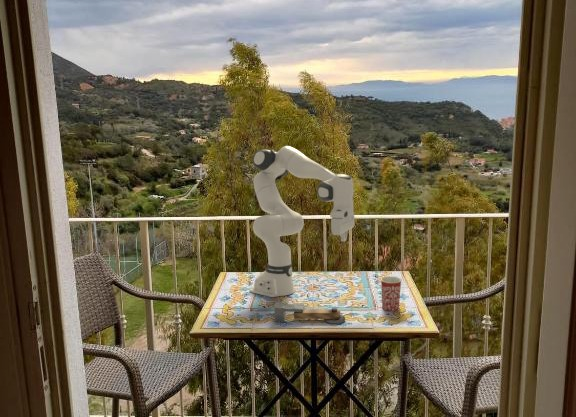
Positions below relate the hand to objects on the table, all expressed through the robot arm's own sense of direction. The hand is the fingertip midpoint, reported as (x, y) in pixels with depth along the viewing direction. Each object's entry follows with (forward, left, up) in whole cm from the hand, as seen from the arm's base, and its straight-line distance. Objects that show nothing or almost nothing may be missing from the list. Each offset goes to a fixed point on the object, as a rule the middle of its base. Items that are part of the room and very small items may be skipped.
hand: (343, 240), depth 240 cm
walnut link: (-3, -25, -28) cm, 37 cm away
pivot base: (+4, -22, -29) cm, 37 cm away
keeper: (-14, -28, -29) cm, 43 cm away
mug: (+21, +2, -29) cm, 36 cm away
